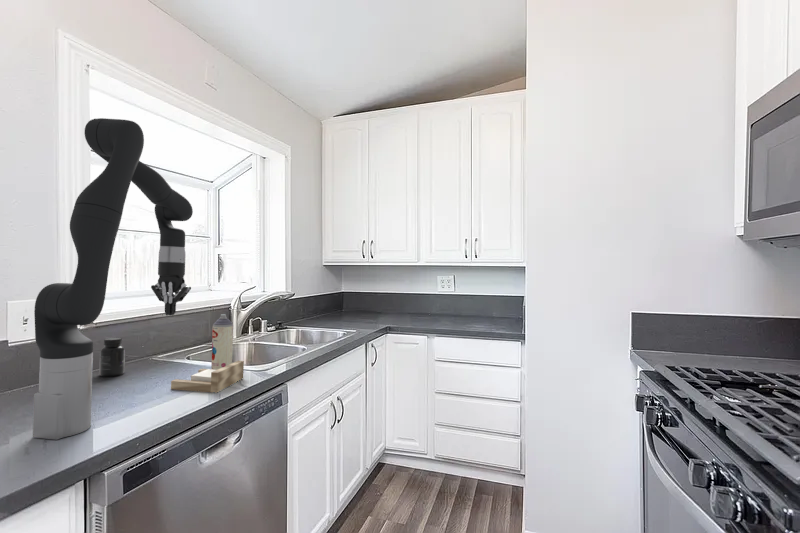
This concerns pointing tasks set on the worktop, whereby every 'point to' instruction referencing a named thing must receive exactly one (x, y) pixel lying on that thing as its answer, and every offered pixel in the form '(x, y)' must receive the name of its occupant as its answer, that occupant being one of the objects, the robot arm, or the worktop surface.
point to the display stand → (213, 379)
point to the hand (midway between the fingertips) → (170, 314)
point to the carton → (202, 376)
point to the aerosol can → (222, 342)
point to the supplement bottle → (112, 358)
